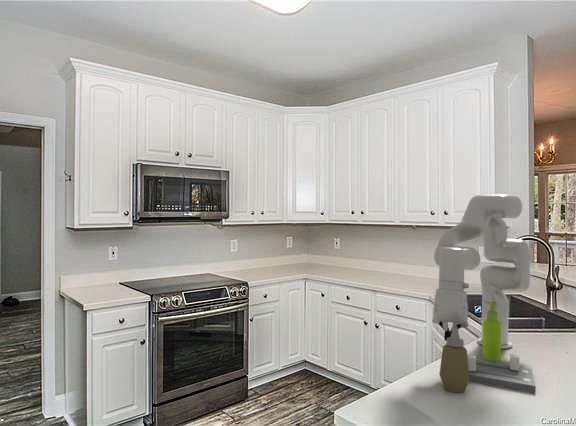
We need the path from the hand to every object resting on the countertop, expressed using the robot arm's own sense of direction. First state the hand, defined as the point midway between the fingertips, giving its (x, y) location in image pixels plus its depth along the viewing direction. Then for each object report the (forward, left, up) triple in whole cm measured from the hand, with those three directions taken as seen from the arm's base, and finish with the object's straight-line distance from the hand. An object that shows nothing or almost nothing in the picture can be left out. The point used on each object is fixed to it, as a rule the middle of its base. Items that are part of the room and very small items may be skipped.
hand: (449, 343), depth 134 cm
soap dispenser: (-25, +12, -10) cm, 29 cm away
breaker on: (-9, +19, -7) cm, 22 cm away
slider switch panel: (-5, +13, -10) cm, 17 cm away
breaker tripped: (-1, +7, -7) cm, 10 cm away
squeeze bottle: (+12, +3, -10) cm, 16 cm away
